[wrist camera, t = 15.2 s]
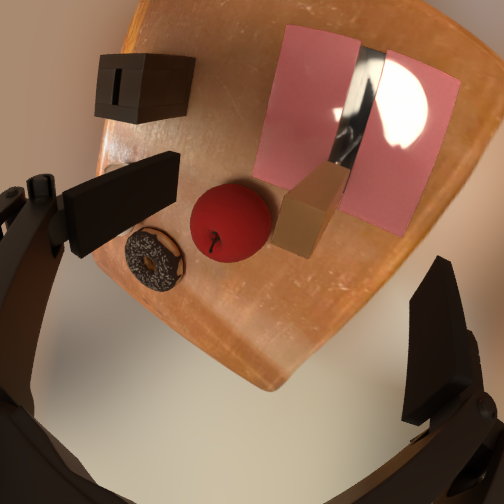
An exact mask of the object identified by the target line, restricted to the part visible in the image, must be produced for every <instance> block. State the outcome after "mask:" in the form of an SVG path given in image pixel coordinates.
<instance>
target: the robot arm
mask: <svg viewBox="0 0 504 504" xmlns="http://www.w3.org/2000/svg"><path fill="white" fill-rule="evenodd" d="M180 156H181V154H179V153H176V152H172V151H166V152H163V153H160V154H157V155H154V156H151V157H149V158H146V159H143V160H140V161H137V162H134V163H132V164H129V165H126V166H124V167H121V168H118V169H116V170H113V171H111V172H108V173H106V174H103V175H101V176H98V177H96V178H94V179H91V180H89V181H86V182H84V183H82V184H79V185H77V186H75V187H73V188H70V189H68V190H66V191H64V192H62V194H61V195H59V196H57V197H56V189H55V180H54V176H53V175H51V174H39V175H36V176H33V177H31V178H29V179H28V180H27V181H26V182H27V189H28V195H29V199H27V198H25V191H24V188H23V187H11V188H9V189H8V190H6V191H4V192H3V193H1V194H0V504H136V503H134V502H133V501H131V500H129V499H126V498H124V497H122V496H120V495H118V494H116V493H114V492H112V491H109V490H107V489H105V488H103V487H101V486H99V485H98V484H97V483H96V482H95V481H94V480H93V478H92V477H91V476H90V474H89V473H88V472H87V471H86V469H85V468H84V467H83V465H82V464H81V462H80V461H79V460H78V458H76V457H75V456H74V455H73V454H72V453H71V452H70V451H69V450H68V449H67V448H66V447H65V446H64V445H63V444H61V443H60V442H59V441H58V440H57V439H56V438H55V437H54V436H53V435H52V434H51V433H50V432H49V431H47V430H46V429H45V428H44V427H43V426H42V425H41V424H40V423H39V422H38V421H37V420H36V419H35V418H34V401H33V397H32V394H31V390H30V381H31V374H32V368H33V362H34V356H35V351H36V347H37V342H38V337H39V333H40V329H41V325H42V321H43V317H44V313H45V309H46V305H47V302H48V299H49V295H50V292H51V288H52V285H53V282H54V279H55V276H56V273H57V270H58V267H59V264H60V261H61V258H62V256H63V253H64V242H66V241H67V240H69V243H70V248H71V252H72V253H74V254H75V255H77V256H78V257H79V258H81V259H82V258H83V257H85V256H86V255H88V254H89V253H91V252H93V251H94V250H96V249H97V248H99V247H100V246H102V245H103V244H105V243H107V242H108V241H110V240H111V239H113V238H115V237H116V236H118V235H119V234H121V233H123V232H124V231H126V230H128V229H129V228H131V227H133V226H134V225H136V224H138V223H139V222H141V221H143V220H144V219H146V218H148V217H150V216H151V215H153V214H155V213H156V212H158V211H160V210H162V209H163V208H165V207H167V206H169V205H171V204H172V203H174V202H176V197H177V185H178V175H179V165H180ZM4 222H5V225H6V229H7V232H6V234H5V235H4V236H3V232H2V228H1V225H2V224H3V223H4ZM409 305H410V306H409V309H410V310H409V311H410V312H409V314H410V315H409V349H408V364H407V377H406V387H405V397H404V404H403V412H402V420H401V421H404V422H407V423H410V424H413V425H416V426H420V425H421V424H423V423H424V422H425V421H427V420H428V419H429V418H430V427H429V428H428V429H427V430H425V431H424V432H423V433H421V434H420V435H418V436H417V437H415V438H413V439H412V440H410V442H411V443H410V444H409V445H408V446H407V447H405V448H404V449H403V450H402V451H401V452H399V453H398V454H397V455H396V456H394V457H393V458H392V459H390V460H389V461H388V462H387V463H385V464H384V465H382V466H381V467H380V468H378V469H377V470H376V471H374V472H373V473H372V474H370V475H369V476H367V477H366V478H364V479H363V480H361V481H360V482H358V483H357V484H355V485H354V486H352V487H351V488H349V489H347V490H346V491H344V492H343V493H341V494H339V495H338V496H336V497H334V498H333V499H331V500H329V501H328V502H326V503H324V504H432V503H433V504H504V423H503V422H501V421H500V420H499V419H497V408H496V404H495V402H494V400H493V399H492V397H491V396H490V395H489V394H488V393H486V392H484V387H483V378H482V370H481V364H480V356H479V355H478V354H479V350H478V345H477V341H476V339H475V337H474V335H473V333H472V331H470V330H467V327H466V322H465V317H464V312H463V307H462V303H461V298H460V294H459V290H458V286H457V282H456V278H455V275H454V271H453V268H452V264H451V262H450V261H448V260H446V259H444V258H442V257H440V256H437V257H436V259H435V260H434V262H433V264H432V266H431V267H430V269H429V271H428V272H427V274H426V276H425V277H424V279H423V281H422V282H421V284H420V285H419V287H418V288H417V290H416V292H415V293H414V295H413V296H412V298H411V299H410V301H409ZM483 477H484V478H483Z"/></svg>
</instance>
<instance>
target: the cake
mask: <svg viewBox="0 0 504 504" xmlns="http://www.w3.org/2000/svg"><path fill="white" fill-rule="evenodd" d="M460 84H461V81H460V80H458V79H456V78H454V77H452V76H450V75H448V74H446V73H444V72H442V71H440V70H438V69H436V68H433V67H431V66H429V65H427V64H425V63H422V62H420V61H417V60H415V59H413V58H410V57H408V56H405V55H402V54H400V53H397V52H394V51H392V50H389V49H388V50H387V53H386V54H385V53H382V52H379V51H376V50H373V49H370V48H367V47H364V46H363V43H362V41H361V40H358V39H354V38H351V37H347V36H343V35H339V34H335V33H331V32H327V31H322V30H318V29H313V28H308V27H302V26H297V25H291V24H287V26H286V30H285V34H284V39H283V43H282V47H281V51H280V55H279V59H278V64H277V68H276V72H275V76H274V81H273V85H272V89H271V94H270V98H269V102H268V107H267V111H266V115H265V120H264V124H263V129H262V133H261V138H260V142H259V146H258V151H257V155H256V160H255V165H254V169H253V174H252V177H254V178H257V179H260V180H263V181H265V182H268V183H271V184H274V185H276V186H279V187H282V188H284V189H287V190H291V189H293V188H294V187H295V186H296V185H297V184H298V183H299V182H300V181H302V180H303V179H304V178H305V177H306V176H307V175H308V174H310V173H311V172H312V171H313V170H314V169H315V168H316V167H317V166H319V165H320V164H321V163H322V162H323V161H324V160H326V161H329V162H332V163H334V164H335V163H336V161H337V160H338V159H339V157H340V156H341V155H342V154H343V153H344V152H345V151H346V150H347V149H348V148H349V147H350V145H354V146H355V147H354V150H353V153H352V156H351V159H350V162H349V165H348V168H347V169H350V174H349V176H348V179H347V182H346V185H345V188H344V191H343V193H344V194H343V196H342V199H341V202H340V205H339V207H338V210H340V211H342V212H345V213H347V214H350V215H352V216H354V217H357V218H359V219H361V220H364V221H366V222H368V223H370V224H373V225H375V226H377V227H379V228H382V229H384V230H386V231H388V232H391V233H393V234H395V235H397V236H399V237H401V238H402V237H403V235H404V233H405V231H406V229H407V227H408V225H409V223H410V221H411V218H412V216H413V214H414V212H415V210H416V207H417V205H418V203H419V201H420V198H421V196H422V194H423V191H424V189H425V187H426V184H427V182H428V179H429V177H430V174H431V172H432V169H433V167H434V164H435V162H436V159H437V156H438V154H439V151H440V148H441V145H442V142H443V140H444V137H445V134H446V131H447V128H448V125H449V122H450V118H451V115H452V112H453V109H454V105H455V102H456V98H457V95H458V91H459V87H460Z"/></svg>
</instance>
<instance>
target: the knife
mask: <svg viewBox="0 0 504 504" xmlns="http://www.w3.org/2000/svg"><path fill="white" fill-rule="evenodd" d="M354 147H355V146H354V145H350V147H349V148H348V149H347V150H346V151H345V152H344V153H343V154H342V155H341V156H340V157H339V159H338V160H337V161H336V163H335V164H334V163H332V162H329V161H326V160H324V161H323V162H322V163H321V164H320V165H319V166H317V167H316V168H315V169H314V170H313V171H312V172H311V173H310V174H308V175H307V176H306V177H305V178H304V179H303V180H302V181H300V182H299V183H298V184H297V185H296V186H295V187H294V188H293V189H291V190H290V191H289V192H288V193H287V194H286V195H285V196H284V198H283V201H282V205H281V209H280V212H279V216H278V219H277V223H276V227H275V230H274V234H273V237H272V241H271V243H272V244H273V245H276V246H278V247H280V248H283V249H285V250H287V251H290V252H292V253H294V254H297V255H299V256H301V257H304V258H306V259H309V258H310V257H311V255H312V253H313V251H314V249H315V247H316V245H317V244H318V242H319V240H320V238H321V236H322V234H323V232H324V231H325V229H326V227H327V225H328V223H329V221H330V219H331V217H332V215H333V213H334V211H335V209H336V208H337V206H338V204H339V202H340V199H341V196H342V194H343V191H344V188H345V185H346V182H347V179H348V176H349V174H350V169H347V168H348V165H349V162H350V159H351V156H352V153H353V150H354Z"/></svg>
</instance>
